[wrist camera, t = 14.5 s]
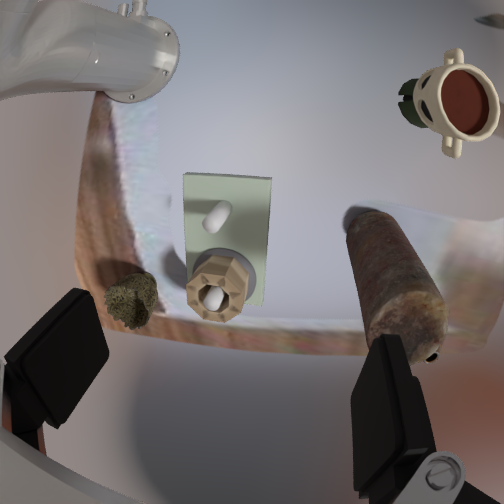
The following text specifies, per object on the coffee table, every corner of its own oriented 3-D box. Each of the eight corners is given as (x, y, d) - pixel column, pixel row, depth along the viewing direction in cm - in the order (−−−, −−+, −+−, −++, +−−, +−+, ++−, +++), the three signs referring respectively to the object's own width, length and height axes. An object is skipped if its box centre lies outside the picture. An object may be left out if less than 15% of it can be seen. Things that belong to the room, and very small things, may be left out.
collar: (198, 252, 41) (185, 270, 36) (249, 259, 40) (242, 278, 35) (199, 296, 44) (188, 316, 39) (247, 303, 43) (240, 325, 38)
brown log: (339, 257, 40) (357, 368, 22) (346, 204, 37) (381, 291, 19) (392, 262, 39) (438, 368, 21) (402, 211, 36) (471, 297, 18)
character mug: (393, 56, 28) (433, 32, 16) (444, 68, 26) (499, 56, 15) (391, 141, 32) (432, 156, 21) (441, 149, 31) (495, 170, 20)
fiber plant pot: (123, 282, 48) (98, 308, 41) (137, 251, 45) (111, 276, 38) (158, 308, 49) (137, 338, 42) (176, 279, 46) (155, 309, 39)
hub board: (187, 172, 38) (160, 187, 31) (271, 177, 37) (263, 193, 30) (192, 293, 46) (173, 324, 39) (263, 303, 45) (254, 338, 38)
